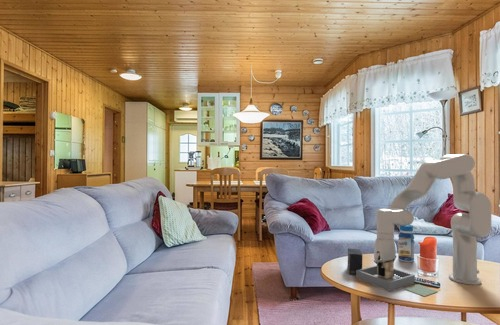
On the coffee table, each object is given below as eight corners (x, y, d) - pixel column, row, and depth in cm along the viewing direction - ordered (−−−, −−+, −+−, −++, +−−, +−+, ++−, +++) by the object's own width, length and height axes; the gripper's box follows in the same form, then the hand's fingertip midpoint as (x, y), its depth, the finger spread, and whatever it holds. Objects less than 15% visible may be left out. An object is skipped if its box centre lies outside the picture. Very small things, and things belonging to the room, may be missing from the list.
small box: (363, 276, 156) (363, 254, 157) (349, 274, 158) (349, 253, 158) (360, 269, 167) (360, 248, 167) (347, 268, 168) (347, 248, 168)
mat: (417, 284, 145) (417, 284, 145) (438, 291, 137) (438, 291, 137) (404, 289, 140) (404, 288, 140) (424, 296, 132) (424, 296, 132)
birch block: (384, 273, 153) (384, 258, 153) (393, 276, 149) (393, 261, 149) (377, 275, 150) (377, 260, 150) (386, 278, 146) (386, 263, 146)
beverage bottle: (417, 262, 179) (418, 226, 179) (404, 262, 177) (404, 226, 177) (407, 257, 187) (407, 223, 187) (394, 258, 186) (394, 223, 186)
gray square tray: (380, 272, 162) (380, 264, 162) (414, 283, 146) (414, 275, 146) (356, 278, 153) (356, 270, 153) (389, 291, 137) (389, 282, 137)
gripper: (389, 232, 157) (389, 269, 157) (366, 236, 148) (366, 275, 148) (404, 235, 151) (404, 273, 151) (380, 239, 142) (380, 280, 142)
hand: (385, 274), depth 150 cm, fingers closed on birch block, 5 cm apart
